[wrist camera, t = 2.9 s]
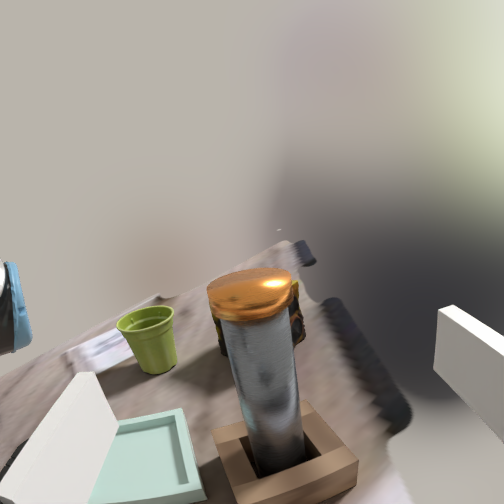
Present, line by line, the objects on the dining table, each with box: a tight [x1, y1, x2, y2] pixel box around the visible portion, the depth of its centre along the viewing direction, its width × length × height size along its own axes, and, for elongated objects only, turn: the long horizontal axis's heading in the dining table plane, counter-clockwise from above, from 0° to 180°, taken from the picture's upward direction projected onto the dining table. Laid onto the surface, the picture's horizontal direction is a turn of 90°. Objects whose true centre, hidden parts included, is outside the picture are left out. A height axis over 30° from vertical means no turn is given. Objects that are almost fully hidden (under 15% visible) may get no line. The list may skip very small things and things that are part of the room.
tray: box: [87, 408, 207, 504], centre depth 27 cm, size 13×13×2 cm
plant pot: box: [116, 306, 177, 374], centre depth 48 cm, size 9×9×9 cm
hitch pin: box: [207, 268, 306, 479], centre depth 23 cm, size 5×5×20 cm
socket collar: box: [211, 399, 359, 504], centre depth 24 cm, size 10×10×4 cm
